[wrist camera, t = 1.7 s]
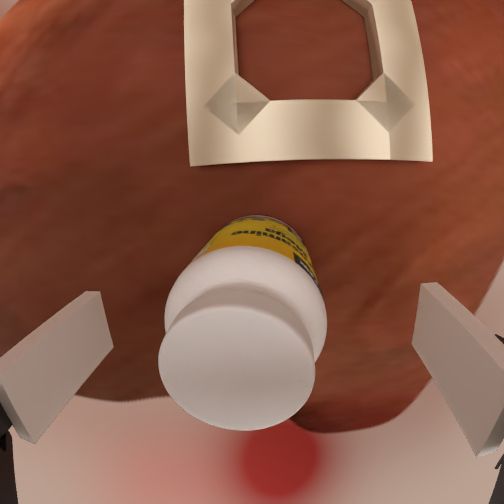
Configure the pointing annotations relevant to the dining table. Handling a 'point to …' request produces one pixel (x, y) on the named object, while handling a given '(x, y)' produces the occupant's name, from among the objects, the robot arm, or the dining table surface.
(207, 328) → the pill bottle
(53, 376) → the robot arm
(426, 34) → the dining table surface
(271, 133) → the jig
